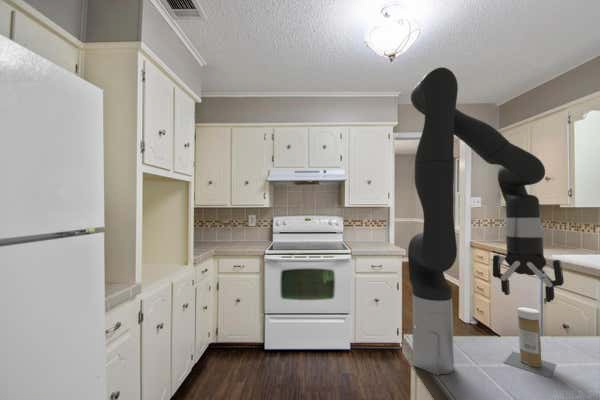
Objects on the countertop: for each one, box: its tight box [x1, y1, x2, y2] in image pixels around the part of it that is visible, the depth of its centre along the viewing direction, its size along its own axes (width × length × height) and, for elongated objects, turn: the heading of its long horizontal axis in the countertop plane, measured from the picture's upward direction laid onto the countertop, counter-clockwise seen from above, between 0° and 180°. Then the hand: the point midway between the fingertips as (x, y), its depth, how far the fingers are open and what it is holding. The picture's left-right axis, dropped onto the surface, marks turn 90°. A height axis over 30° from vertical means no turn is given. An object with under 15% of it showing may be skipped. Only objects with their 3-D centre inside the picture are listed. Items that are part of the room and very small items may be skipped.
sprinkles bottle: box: [516, 306, 542, 367], centre depth 73 cm, size 5×5×14 cm
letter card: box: [503, 351, 557, 379], centre depth 73 cm, size 9×9×1 cm
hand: (527, 297), depth 73 cm, fingers open, 8 cm apart
